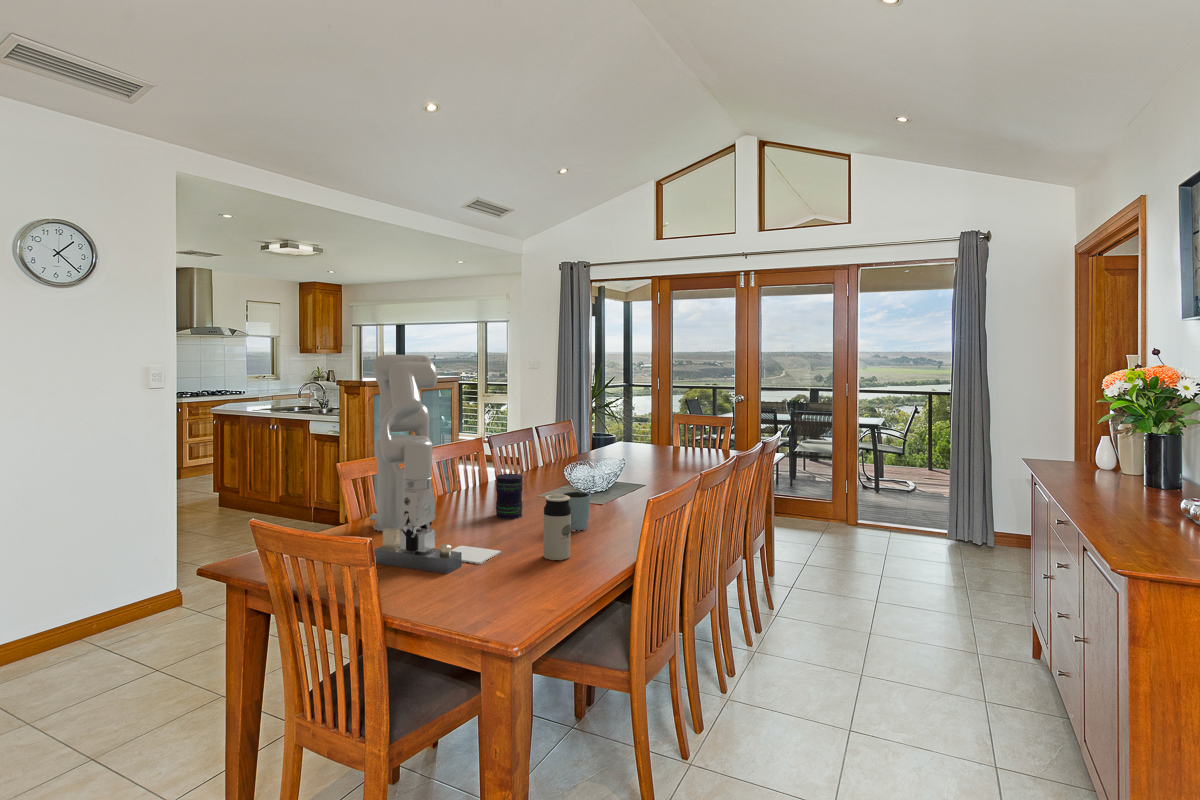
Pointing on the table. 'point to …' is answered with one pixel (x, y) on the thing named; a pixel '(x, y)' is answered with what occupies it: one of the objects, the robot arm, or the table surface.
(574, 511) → the blue grey cup
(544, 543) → the travel mug
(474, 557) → the mat
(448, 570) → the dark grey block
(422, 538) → the grey rectangular block
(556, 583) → the table surface
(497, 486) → the storage jar
